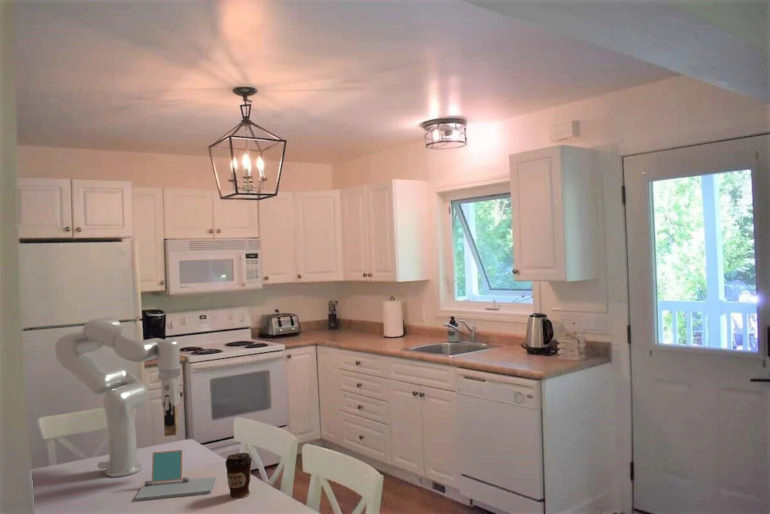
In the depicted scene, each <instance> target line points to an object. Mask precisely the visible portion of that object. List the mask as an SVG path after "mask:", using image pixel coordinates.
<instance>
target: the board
mask: <svg viewBox="0 0 770 514" xmlns="http://www.w3.org/2000/svg"><path fill="white" fill-rule="evenodd" d="M216 481H217V480H216V476H210V477H209V476H208V477H200V478H191V479H190V477H189V476H186V477H185V476H184V477H183V476H182V480H176V481H166V482H155V483H152V480H145V481H144V484H143V485H142V487H141V489H140V490H139V491H138V493H137V494H136V495H135V497H134V501H135V502H140V501H141V500H142V501H150V500H151V499H152V500H160V498H162V499H172V498H180V497H181V498H182V497H190V496H198V495H199V494H201V495H209V494H211V493H212V491H213V488H214V484H215V483H214V482H216ZM171 497H172V498H171Z"/></svg>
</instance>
